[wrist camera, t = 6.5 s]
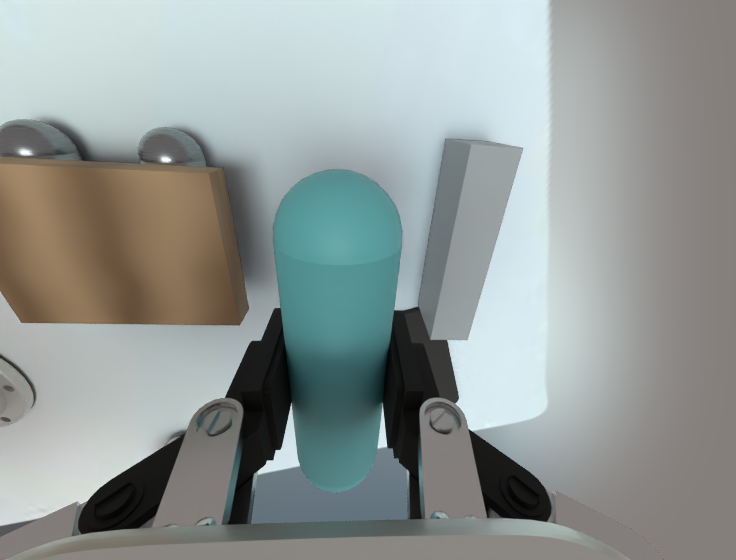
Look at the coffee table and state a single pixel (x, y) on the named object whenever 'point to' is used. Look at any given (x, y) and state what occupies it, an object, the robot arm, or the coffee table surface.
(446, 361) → the phone
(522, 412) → the coffee table surface
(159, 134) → the roller
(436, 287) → the block
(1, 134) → the roller
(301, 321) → the roller
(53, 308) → the slab
